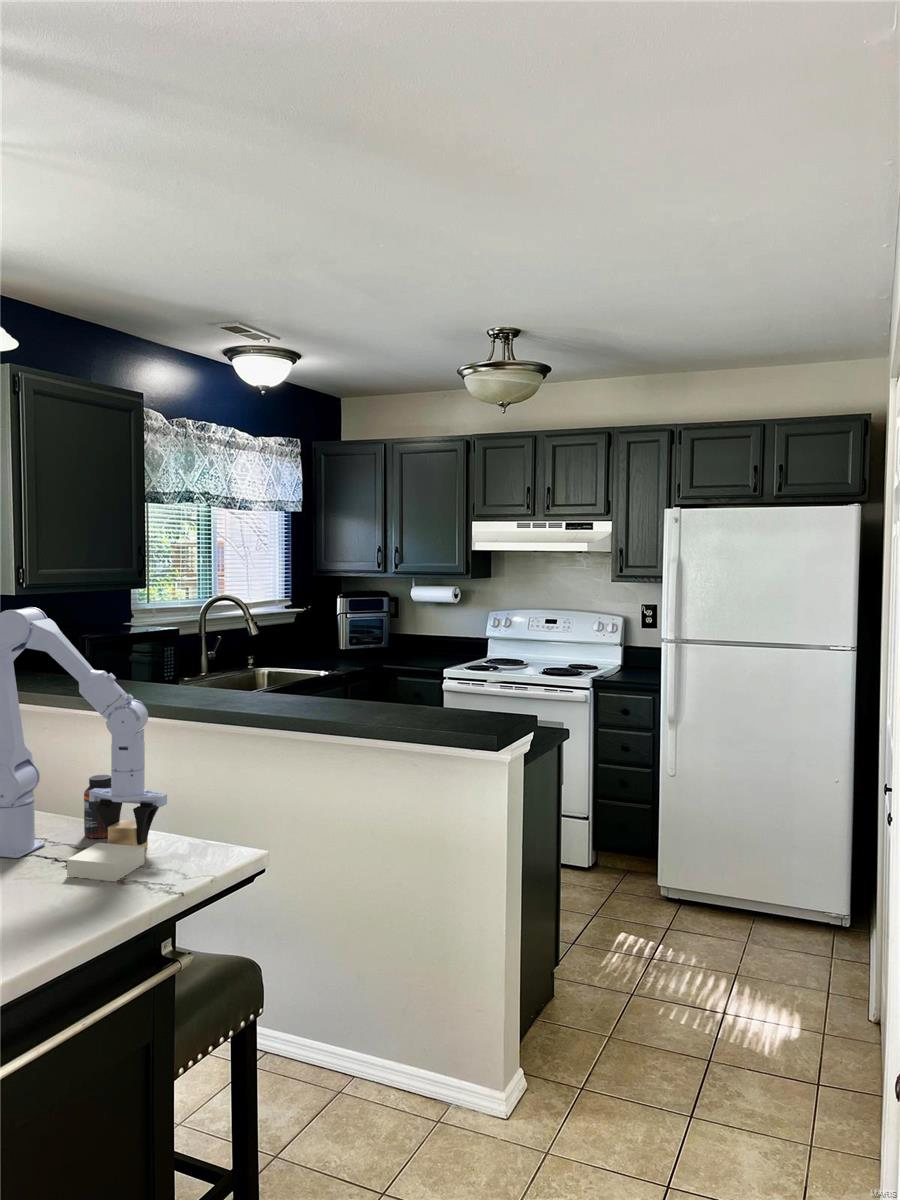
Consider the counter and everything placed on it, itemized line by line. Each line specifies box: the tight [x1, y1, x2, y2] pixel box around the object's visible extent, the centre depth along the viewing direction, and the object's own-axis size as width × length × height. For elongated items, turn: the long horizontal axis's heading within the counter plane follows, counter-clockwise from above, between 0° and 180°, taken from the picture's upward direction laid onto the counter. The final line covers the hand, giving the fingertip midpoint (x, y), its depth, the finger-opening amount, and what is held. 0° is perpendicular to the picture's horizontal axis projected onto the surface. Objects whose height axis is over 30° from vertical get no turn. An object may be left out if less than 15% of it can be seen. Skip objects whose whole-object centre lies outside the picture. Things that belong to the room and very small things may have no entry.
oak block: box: [107, 819, 149, 849], centre depth 165 cm, size 5×5×5 cm
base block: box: [66, 842, 146, 883], centre depth 154 cm, size 9×9×3 cm
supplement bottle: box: [83, 774, 111, 839], centre depth 173 cm, size 6×6×11 cm
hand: (128, 841), depth 165 cm, fingers open, 5 cm apart
